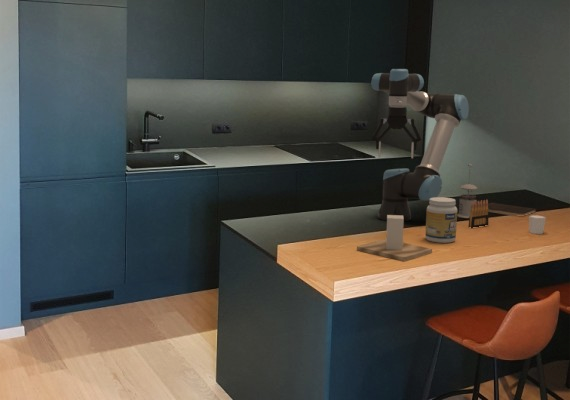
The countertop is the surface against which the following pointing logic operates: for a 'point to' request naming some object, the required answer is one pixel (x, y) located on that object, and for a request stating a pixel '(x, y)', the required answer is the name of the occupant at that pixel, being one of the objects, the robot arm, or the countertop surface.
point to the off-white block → (394, 232)
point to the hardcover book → (509, 209)
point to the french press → (466, 200)
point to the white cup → (536, 224)
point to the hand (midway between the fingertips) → (395, 157)
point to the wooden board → (402, 255)
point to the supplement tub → (441, 220)
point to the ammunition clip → (478, 214)
